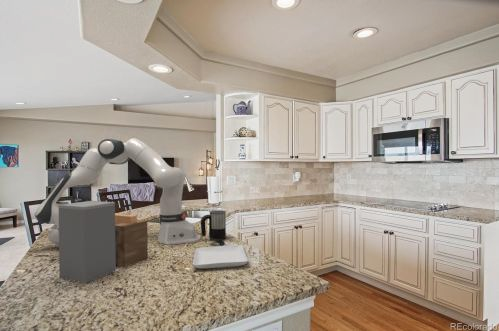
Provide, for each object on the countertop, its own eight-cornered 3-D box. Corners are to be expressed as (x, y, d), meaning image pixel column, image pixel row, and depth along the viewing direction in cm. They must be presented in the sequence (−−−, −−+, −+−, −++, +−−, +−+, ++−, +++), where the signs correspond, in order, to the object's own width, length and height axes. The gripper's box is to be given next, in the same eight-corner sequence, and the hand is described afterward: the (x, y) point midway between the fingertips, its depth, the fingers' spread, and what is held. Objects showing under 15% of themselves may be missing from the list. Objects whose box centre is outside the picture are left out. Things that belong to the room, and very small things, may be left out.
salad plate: (192, 273, 99) (192, 264, 99) (195, 254, 120) (195, 247, 120) (248, 269, 102) (248, 260, 102) (242, 251, 123) (242, 244, 123)
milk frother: (220, 235, 151) (219, 209, 151) (238, 241, 139) (237, 212, 139) (198, 241, 141) (197, 212, 141) (215, 247, 129) (215, 216, 129)
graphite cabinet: (59, 277, 96) (58, 205, 96) (91, 265, 107) (90, 200, 107) (85, 283, 91) (84, 207, 91) (115, 270, 101) (114, 202, 101)
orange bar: (95, 220, 119) (95, 213, 119) (101, 218, 122) (101, 212, 122) (131, 223, 110) (130, 216, 110) (136, 222, 112) (136, 215, 112)
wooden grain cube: (100, 262, 111) (99, 223, 111) (124, 253, 122) (124, 218, 122) (124, 267, 105) (124, 226, 105) (147, 257, 116) (147, 220, 116)
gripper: (47, 223, 118) (63, 209, 114) (91, 215, 137) (107, 202, 132) (51, 236, 117) (68, 222, 112) (95, 226, 136) (111, 214, 131)
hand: (89, 211), depth 122 cm, fingers open, 8 cm apart
